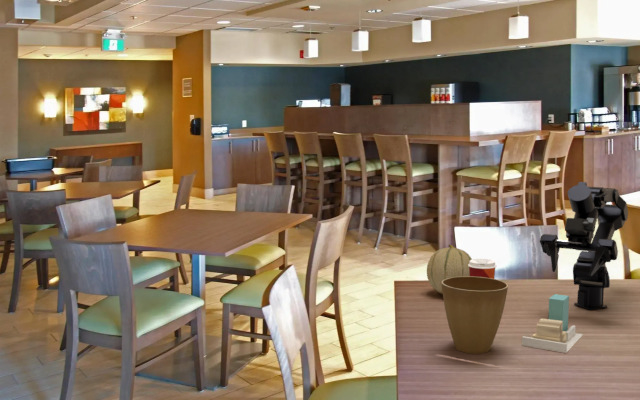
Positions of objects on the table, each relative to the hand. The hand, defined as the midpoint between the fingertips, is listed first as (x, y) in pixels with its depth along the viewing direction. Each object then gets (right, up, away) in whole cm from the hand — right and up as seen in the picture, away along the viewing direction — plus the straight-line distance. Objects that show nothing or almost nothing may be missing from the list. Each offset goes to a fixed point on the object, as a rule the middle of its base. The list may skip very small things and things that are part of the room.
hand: (571, 273), depth 179 cm
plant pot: (-29, -16, -17) cm, 37 cm away
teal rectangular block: (-6, -14, -8) cm, 18 cm away
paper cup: (-19, -12, +16) cm, 28 cm away
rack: (-9, -15, -12) cm, 21 cm away
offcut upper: (-11, -13, -15) cm, 22 cm away
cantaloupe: (-25, -10, +34) cm, 43 cm away
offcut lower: (-11, -15, -15) cm, 24 cm away
